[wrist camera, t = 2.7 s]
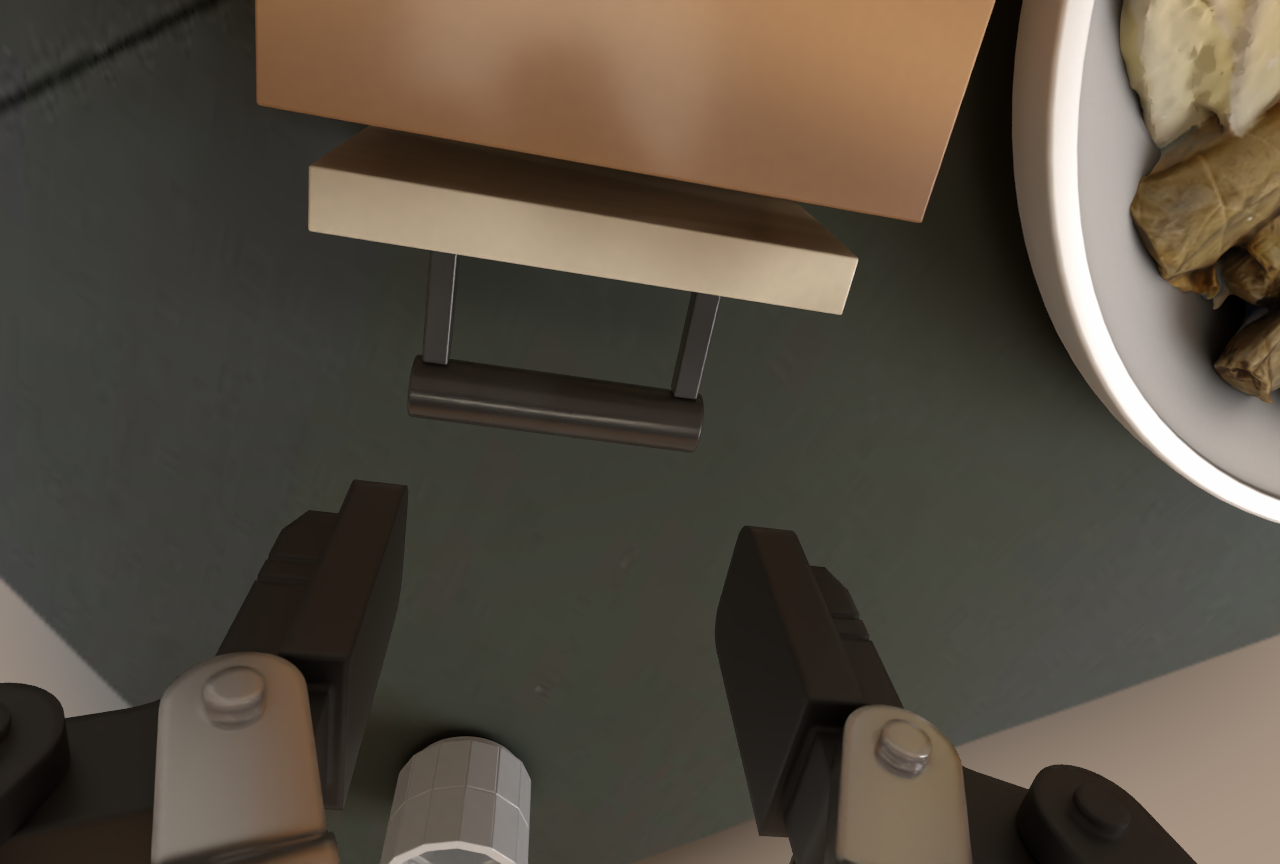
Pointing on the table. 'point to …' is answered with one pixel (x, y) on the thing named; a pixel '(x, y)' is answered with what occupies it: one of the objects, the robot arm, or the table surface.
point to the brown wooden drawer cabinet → (651, 84)
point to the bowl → (1161, 221)
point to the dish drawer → (571, 267)
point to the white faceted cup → (460, 806)
